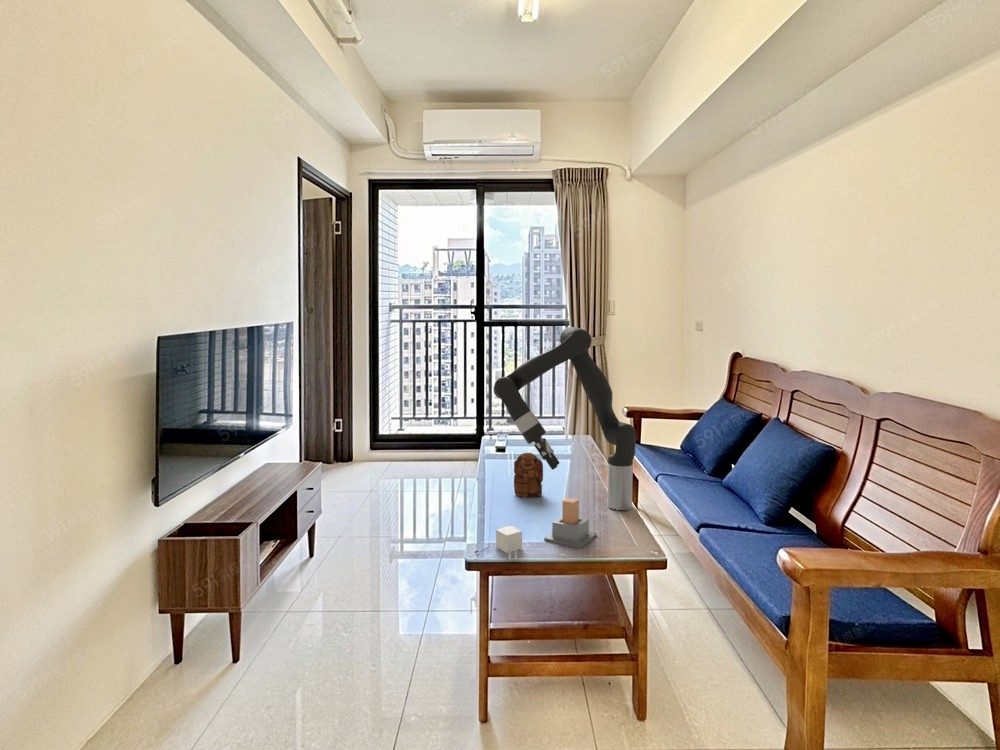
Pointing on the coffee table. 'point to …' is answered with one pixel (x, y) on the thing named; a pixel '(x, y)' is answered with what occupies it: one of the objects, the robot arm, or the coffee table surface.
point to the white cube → (509, 539)
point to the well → (570, 533)
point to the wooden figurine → (528, 475)
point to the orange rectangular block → (570, 511)
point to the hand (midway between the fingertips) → (556, 466)
